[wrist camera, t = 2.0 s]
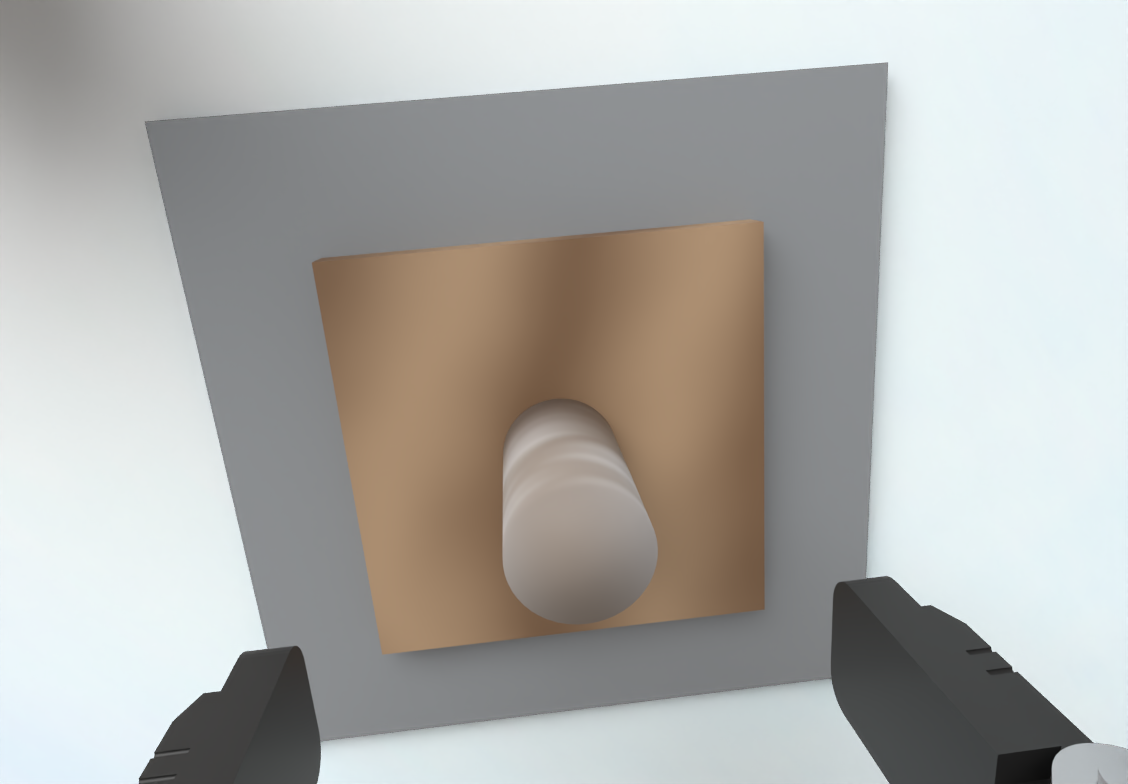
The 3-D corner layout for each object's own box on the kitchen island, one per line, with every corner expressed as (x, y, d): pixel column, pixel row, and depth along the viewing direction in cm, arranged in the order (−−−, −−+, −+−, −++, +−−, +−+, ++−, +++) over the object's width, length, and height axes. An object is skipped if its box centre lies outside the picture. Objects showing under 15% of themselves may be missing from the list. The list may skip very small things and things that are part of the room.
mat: (878, 65, 19) (888, 62, 18) (854, 664, 24) (861, 674, 23) (154, 123, 18) (144, 121, 17) (294, 733, 23) (290, 744, 22)
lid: (750, 219, 19) (870, 241, 13) (753, 590, 22) (849, 752, 16) (321, 257, 18) (228, 300, 12) (387, 633, 22) (340, 818, 15)
